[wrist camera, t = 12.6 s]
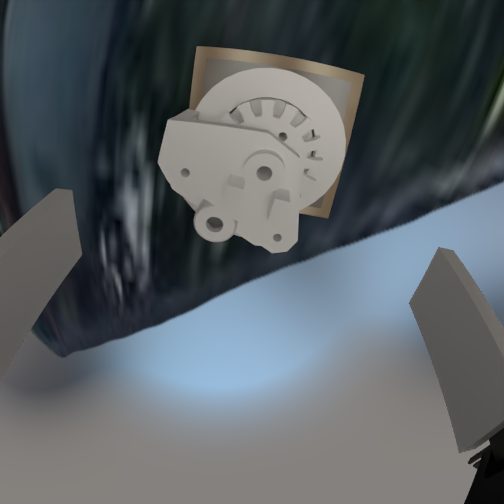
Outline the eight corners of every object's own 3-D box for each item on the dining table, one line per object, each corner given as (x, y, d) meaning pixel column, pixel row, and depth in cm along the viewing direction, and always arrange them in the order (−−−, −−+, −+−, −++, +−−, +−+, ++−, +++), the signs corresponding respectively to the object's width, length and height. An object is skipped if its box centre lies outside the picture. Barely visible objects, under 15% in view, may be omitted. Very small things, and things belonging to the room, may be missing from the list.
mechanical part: (358, 125, 24) (413, 172, 14) (269, 219, 30) (266, 307, 20) (253, 40, 20) (237, 18, 11) (170, 149, 26) (111, 207, 16)
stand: (190, 183, 31) (182, 196, 29) (204, 47, 24) (195, 46, 21) (323, 204, 32) (328, 219, 29) (355, 73, 24) (365, 75, 21)
